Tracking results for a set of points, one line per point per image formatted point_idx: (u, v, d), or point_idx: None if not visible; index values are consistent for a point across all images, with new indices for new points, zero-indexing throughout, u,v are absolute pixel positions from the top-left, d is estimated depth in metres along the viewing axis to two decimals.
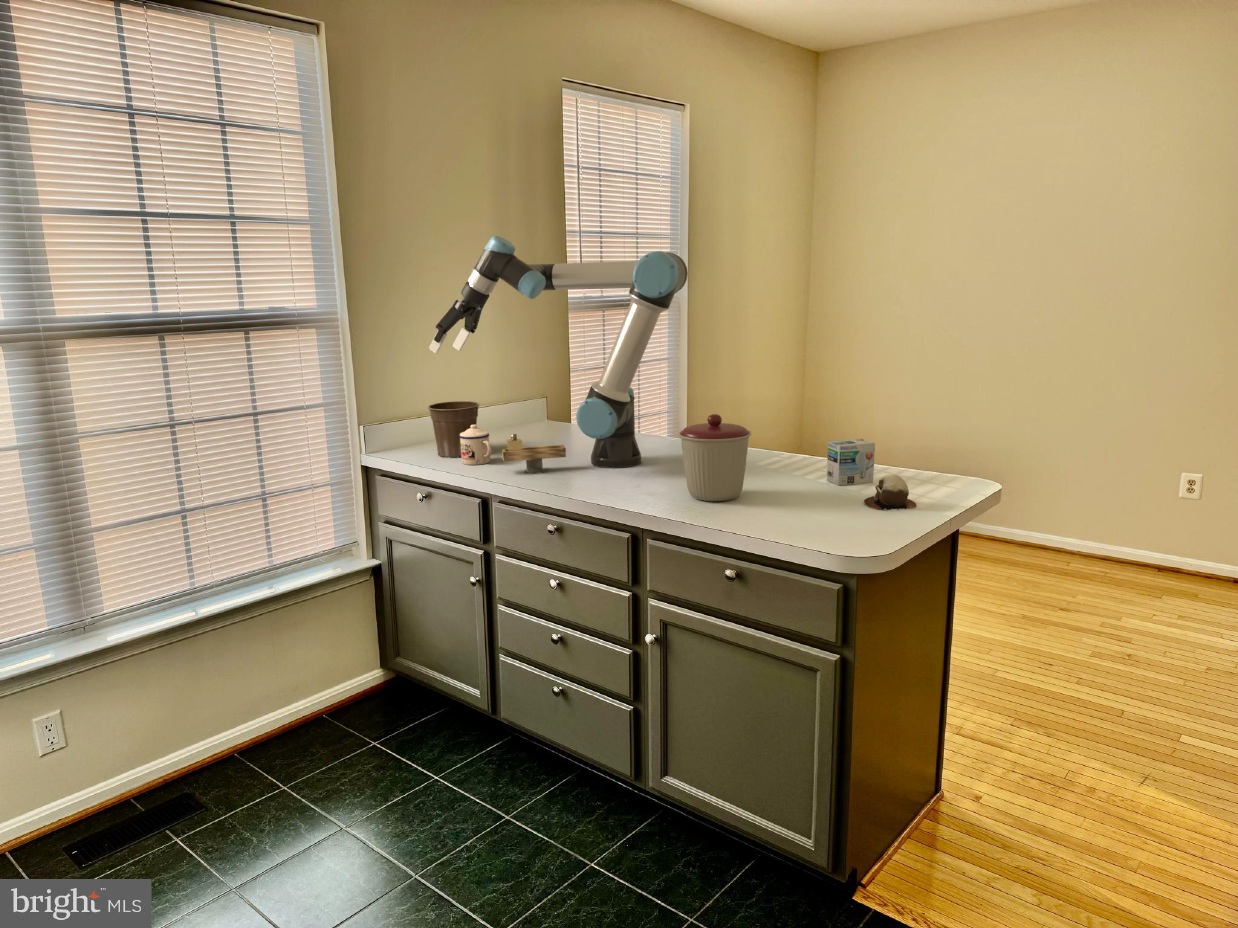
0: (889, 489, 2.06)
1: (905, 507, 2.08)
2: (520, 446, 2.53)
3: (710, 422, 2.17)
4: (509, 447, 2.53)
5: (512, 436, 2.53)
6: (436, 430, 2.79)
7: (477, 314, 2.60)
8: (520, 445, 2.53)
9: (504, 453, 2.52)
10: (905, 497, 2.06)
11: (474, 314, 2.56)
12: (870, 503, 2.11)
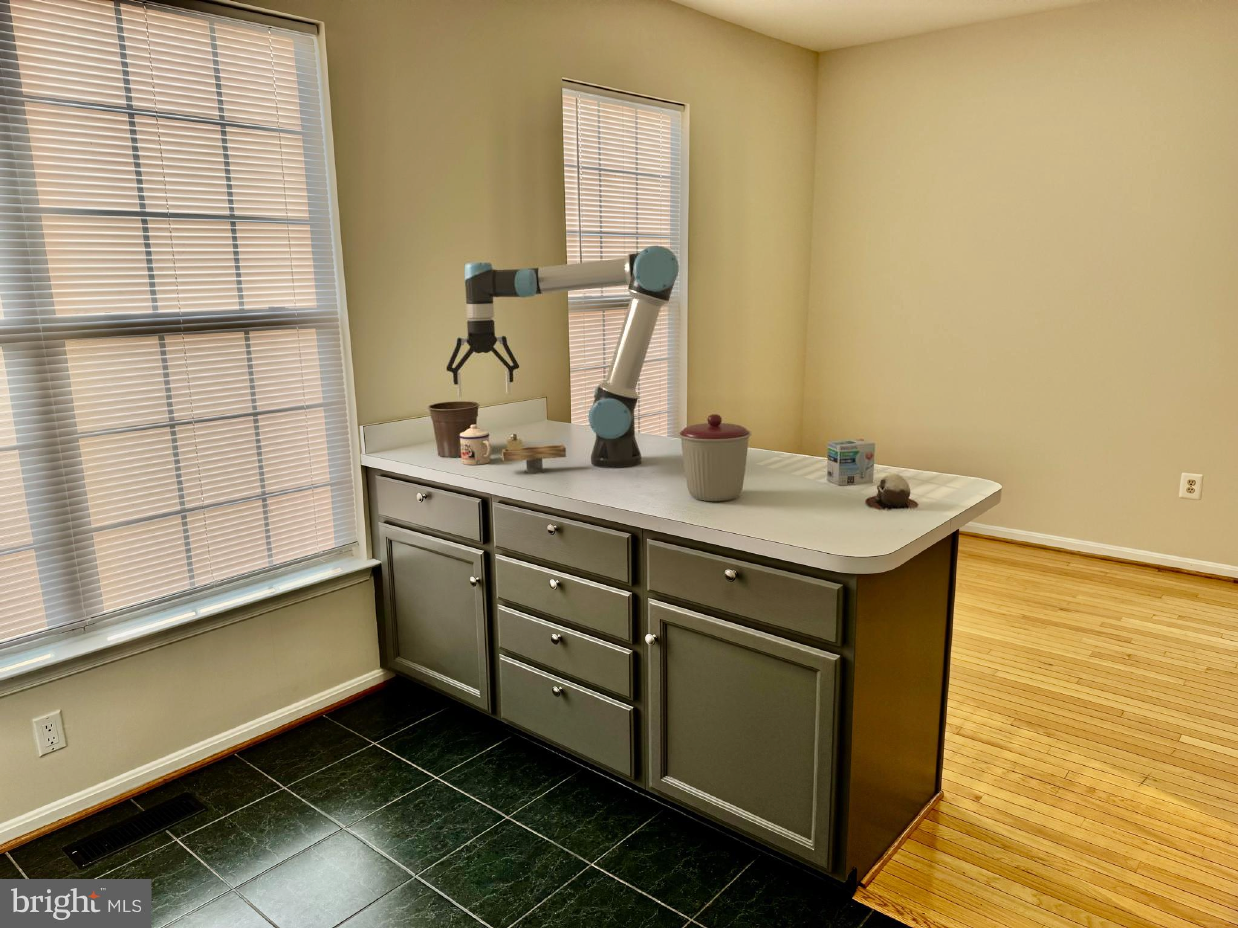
0: (891, 489, 2.06)
1: (907, 507, 2.08)
2: (520, 446, 2.53)
3: (710, 422, 2.17)
4: (509, 447, 2.53)
5: (512, 436, 2.53)
6: (436, 430, 2.79)
7: (505, 349, 2.48)
8: (520, 445, 2.53)
9: (504, 453, 2.52)
10: (907, 497, 2.06)
11: (491, 348, 2.46)
12: (872, 503, 2.11)
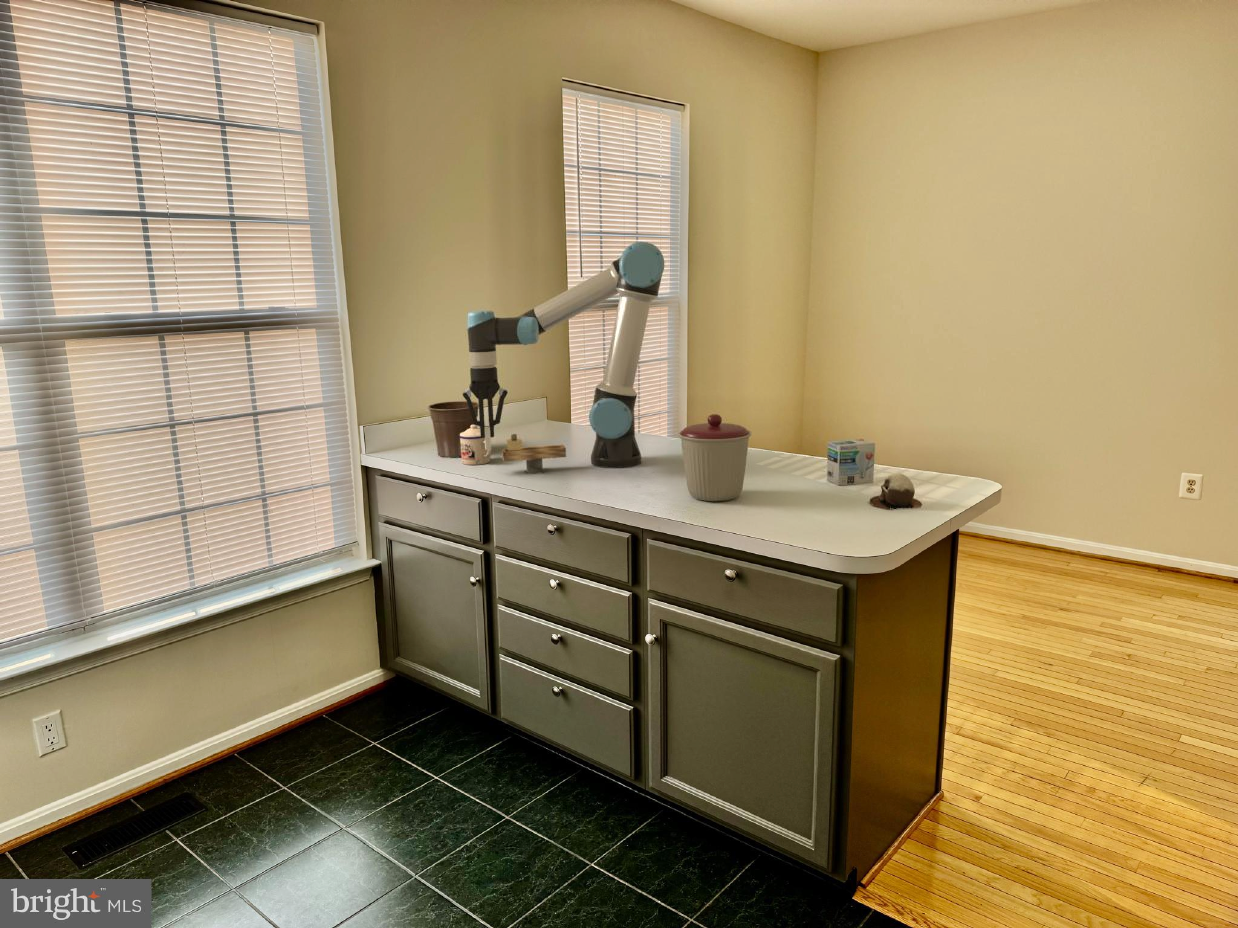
0: (895, 489, 2.06)
1: (911, 506, 2.08)
2: (520, 446, 2.53)
3: (710, 422, 2.17)
4: (509, 447, 2.53)
5: (512, 436, 2.53)
6: (436, 430, 2.79)
7: (499, 401, 2.50)
8: (520, 445, 2.53)
9: (504, 453, 2.52)
10: (911, 496, 2.07)
11: (490, 396, 2.48)
12: (876, 503, 2.11)
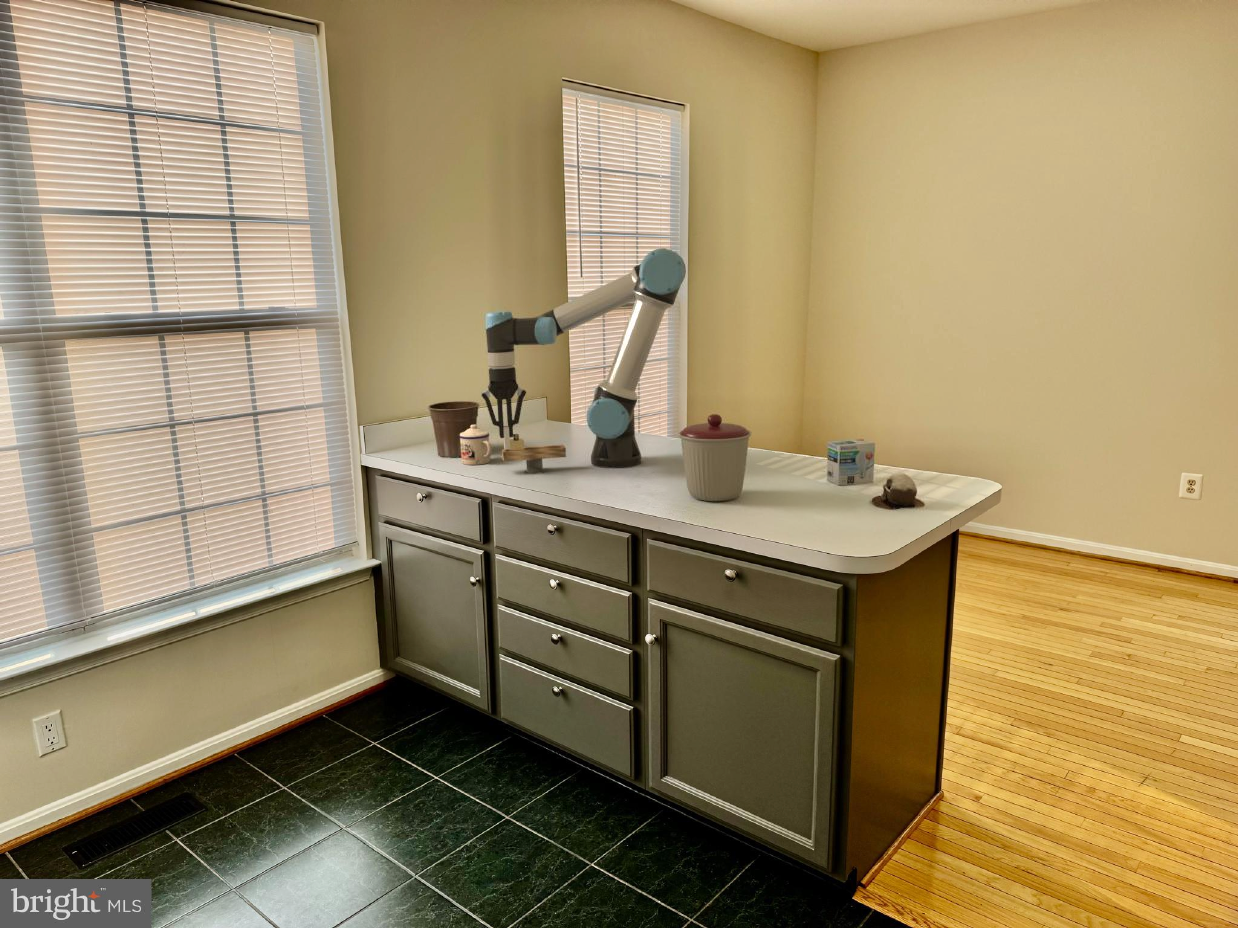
0: (898, 488, 2.06)
1: (913, 506, 2.09)
2: (522, 446, 2.53)
3: (710, 422, 2.17)
4: (511, 447, 2.53)
5: (514, 436, 2.53)
6: (436, 430, 2.79)
7: (518, 402, 2.51)
8: (522, 445, 2.53)
9: (504, 453, 2.52)
10: (914, 496, 2.07)
11: (508, 396, 2.49)
12: (878, 502, 2.11)
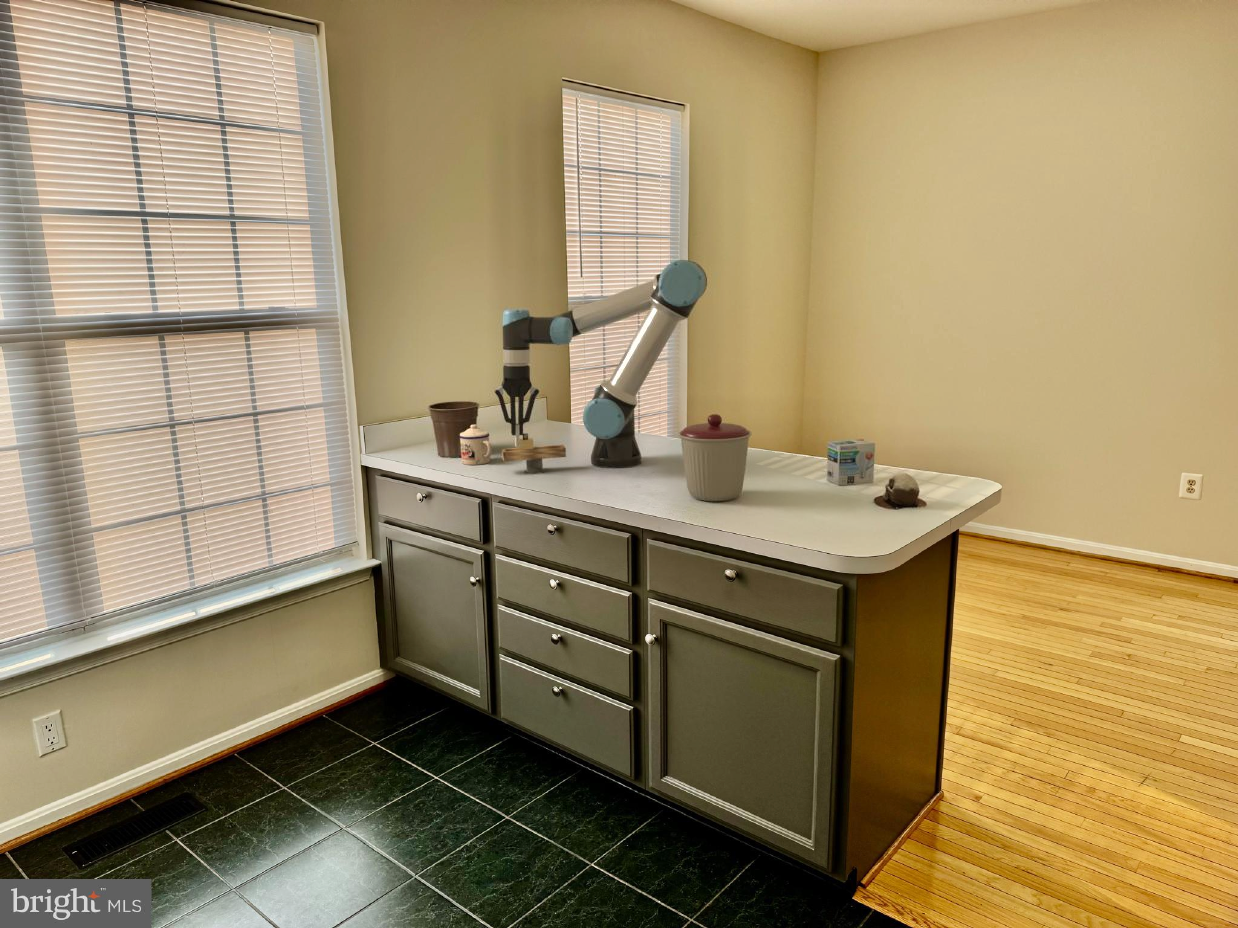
0: (901, 488, 2.06)
1: (916, 506, 2.09)
2: (531, 445, 2.54)
3: (710, 422, 2.17)
4: (520, 446, 2.53)
5: (523, 435, 2.54)
6: (436, 430, 2.79)
7: (530, 400, 2.52)
8: (531, 444, 2.54)
9: (504, 453, 2.52)
10: (916, 496, 2.07)
11: (521, 394, 2.50)
12: (881, 502, 2.11)
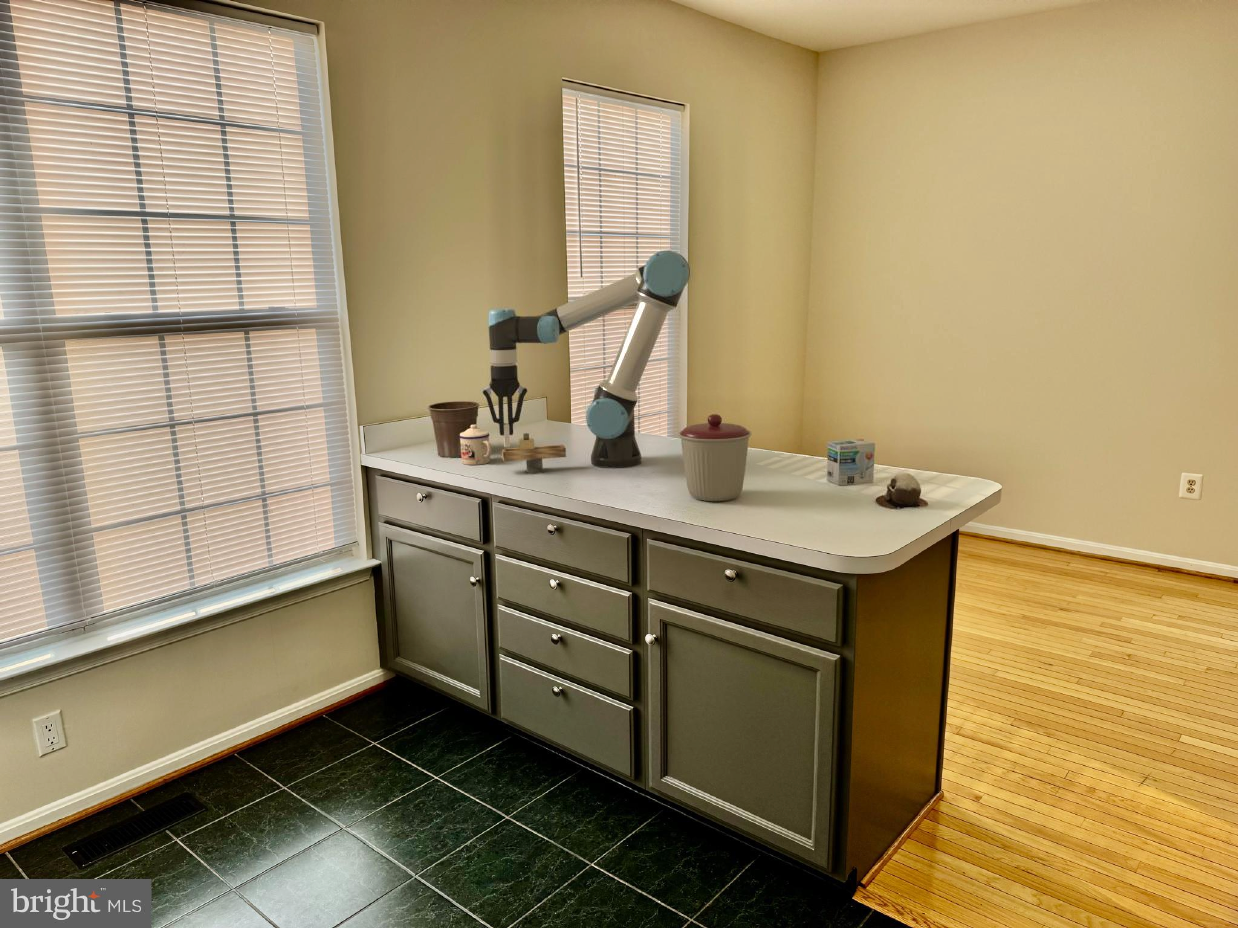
0: (902, 488, 2.06)
1: (917, 505, 2.09)
2: (532, 445, 2.54)
3: (710, 422, 2.17)
4: (521, 446, 2.53)
5: (524, 435, 2.54)
6: (436, 430, 2.79)
7: (518, 399, 2.51)
8: (532, 444, 2.54)
9: (504, 453, 2.52)
10: (918, 495, 2.07)
11: (509, 394, 2.50)
12: (882, 502, 2.11)
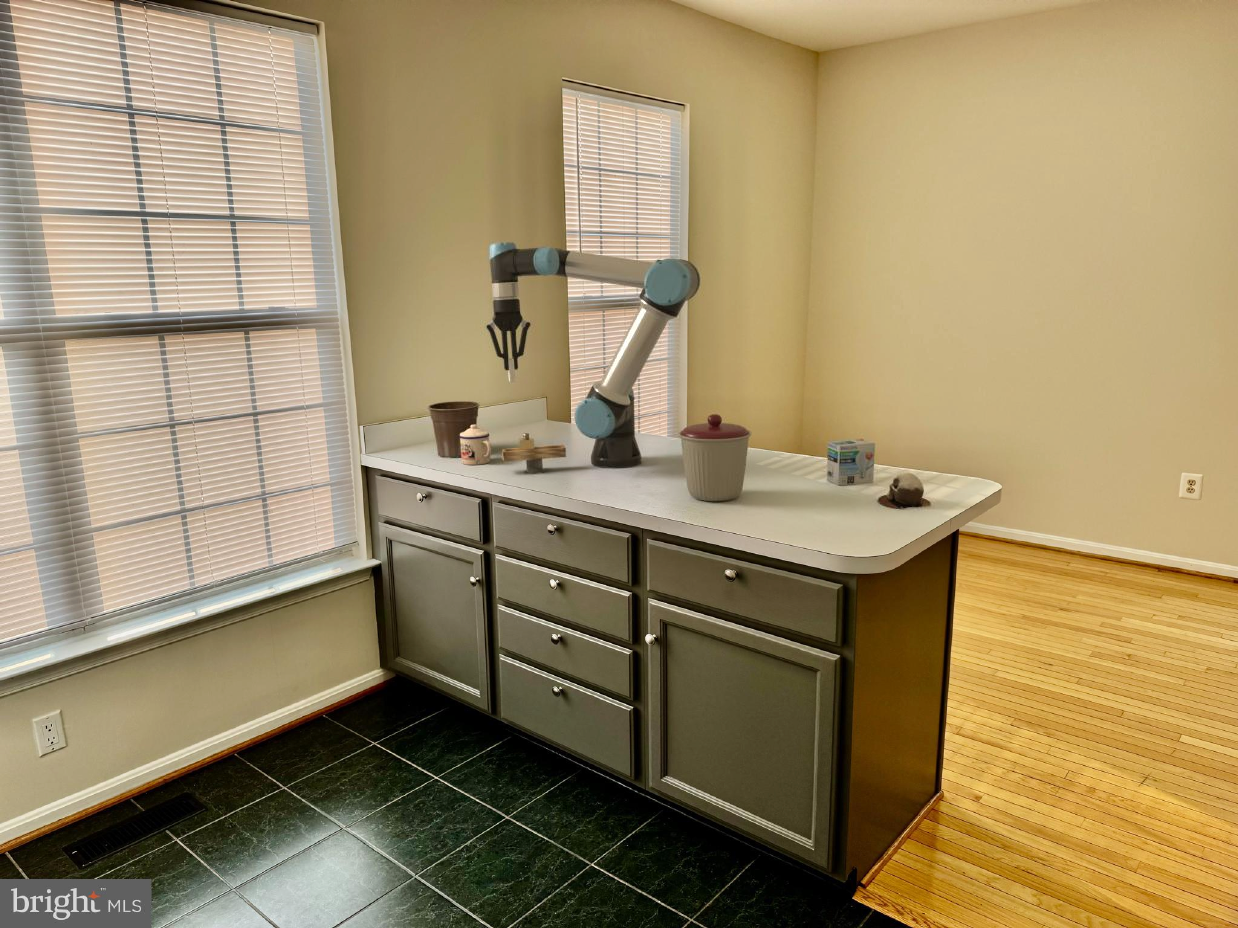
0: (905, 488, 2.07)
1: (920, 505, 2.09)
2: (532, 445, 2.54)
3: (710, 422, 2.17)
4: (521, 446, 2.53)
5: (524, 435, 2.54)
6: (436, 430, 2.79)
7: (522, 333, 2.53)
8: (532, 444, 2.54)
9: (504, 453, 2.52)
10: (921, 495, 2.07)
11: (513, 328, 2.51)
12: (885, 502, 2.11)
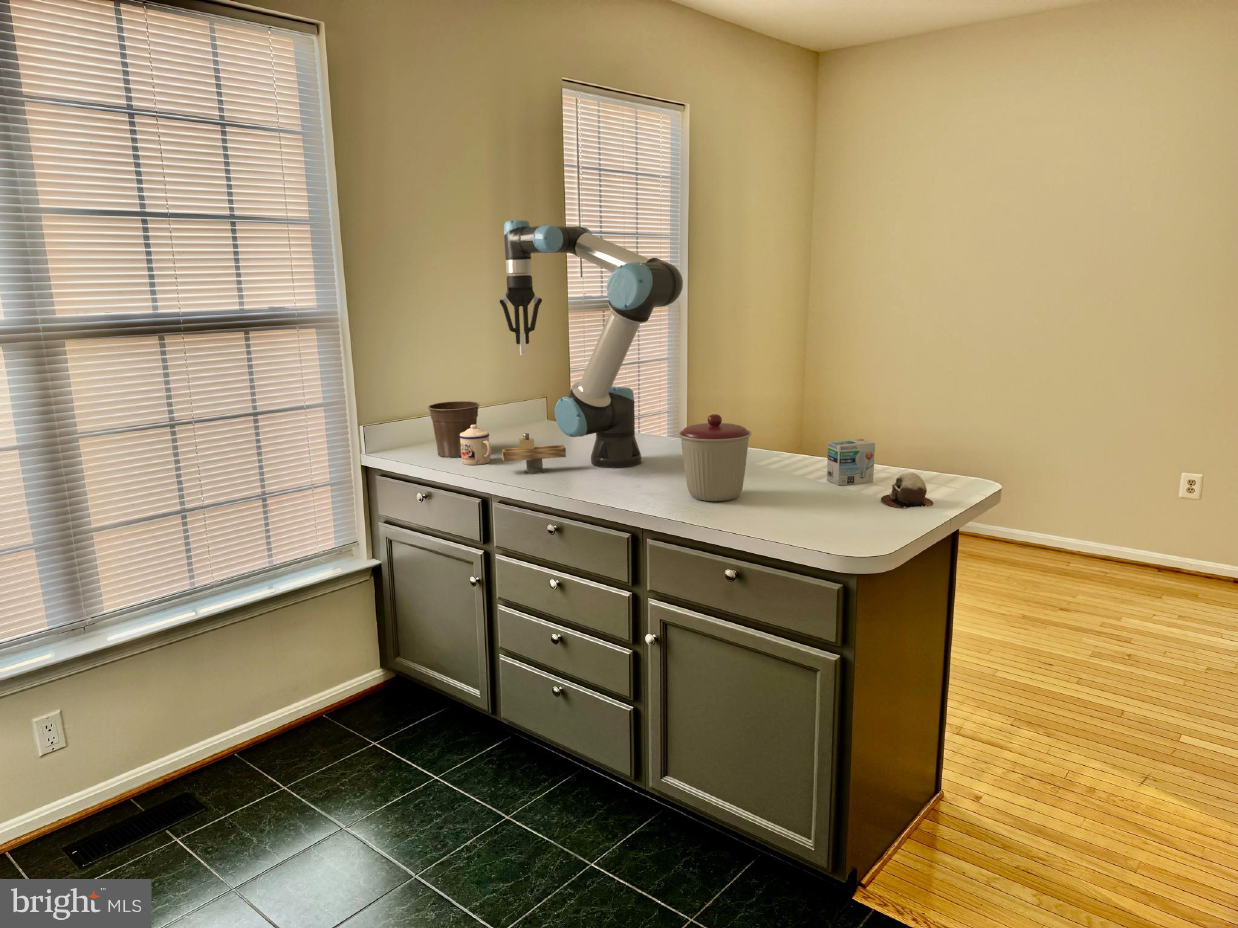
0: (909, 487, 2.07)
1: (923, 505, 2.09)
2: (532, 445, 2.54)
3: (710, 422, 2.17)
4: (521, 446, 2.53)
5: (524, 435, 2.54)
6: (436, 430, 2.79)
7: (534, 309, 2.62)
8: (532, 444, 2.54)
9: (504, 453, 2.52)
10: (924, 495, 2.08)
11: (525, 303, 2.60)
12: (888, 502, 2.12)
